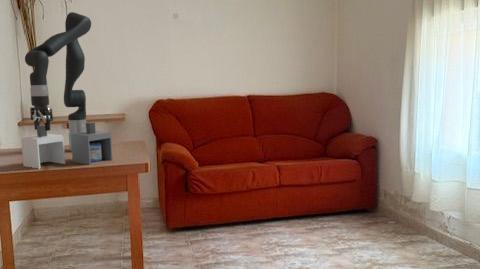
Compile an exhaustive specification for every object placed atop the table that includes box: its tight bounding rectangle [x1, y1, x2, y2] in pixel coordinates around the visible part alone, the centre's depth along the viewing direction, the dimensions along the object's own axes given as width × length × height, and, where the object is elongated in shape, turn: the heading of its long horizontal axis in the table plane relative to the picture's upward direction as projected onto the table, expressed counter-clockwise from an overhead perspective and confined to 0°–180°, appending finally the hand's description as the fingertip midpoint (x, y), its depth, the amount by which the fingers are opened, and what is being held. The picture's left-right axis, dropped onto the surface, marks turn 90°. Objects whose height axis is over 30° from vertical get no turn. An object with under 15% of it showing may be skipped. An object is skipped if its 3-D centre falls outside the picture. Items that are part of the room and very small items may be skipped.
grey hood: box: [20, 124, 66, 170], centre depth 217 cm, size 13×13×19 cm
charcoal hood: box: [71, 121, 114, 166], centre depth 224 cm, size 13×13×19 cm
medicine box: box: [89, 143, 102, 163], centre depth 225 cm, size 8×4×9 cm, turn 117°
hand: (42, 130), depth 216 cm, fingers open, 8 cm apart
